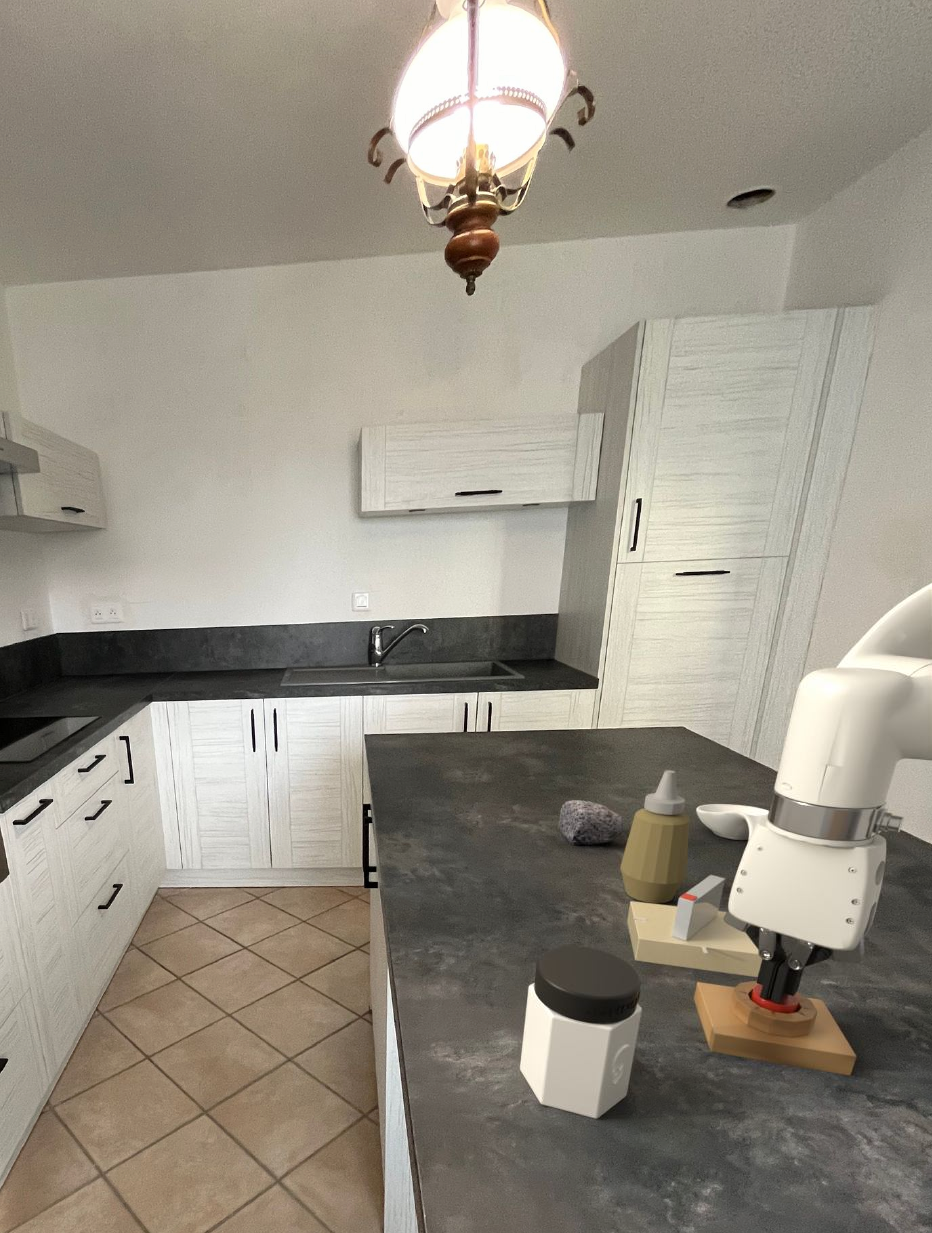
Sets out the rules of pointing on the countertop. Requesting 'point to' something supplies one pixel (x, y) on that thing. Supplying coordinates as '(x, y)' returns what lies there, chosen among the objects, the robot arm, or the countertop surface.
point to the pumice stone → (589, 823)
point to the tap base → (690, 942)
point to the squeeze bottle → (657, 846)
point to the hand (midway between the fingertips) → (774, 994)
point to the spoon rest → (731, 819)
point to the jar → (581, 1029)
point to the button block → (772, 1029)
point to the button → (785, 1006)
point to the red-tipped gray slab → (698, 907)
